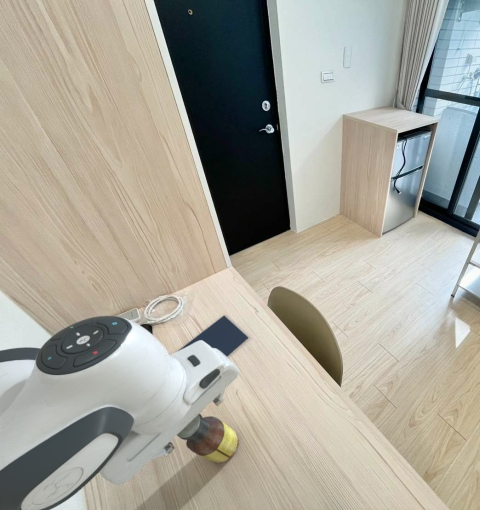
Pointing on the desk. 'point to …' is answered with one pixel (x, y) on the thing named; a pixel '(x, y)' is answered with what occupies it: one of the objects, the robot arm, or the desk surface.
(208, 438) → the sauce bottle
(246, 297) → the desk surface
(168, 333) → the desk surface
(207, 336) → the cloth
